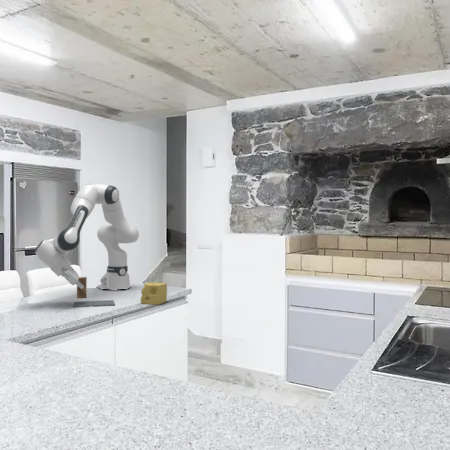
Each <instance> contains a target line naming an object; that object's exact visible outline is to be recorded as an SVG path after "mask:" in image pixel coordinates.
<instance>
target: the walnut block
mask: <svg viewBox="0 0 450 450" xmlns="http://www.w3.org/2000/svg"><path fill="white" fill-rule="evenodd" d="M87 278H88V277H86V276H79V278H78V281H79V282H80V283H81V284H82V285H84V288H82V289H81V288H80V287H78V286H77V285H76V299H87V287H88V285H87Z"/></svg>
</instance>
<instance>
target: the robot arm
mask: <svg viewBox="0 0 450 450" xmlns="http://www.w3.org/2000/svg"><path fill="white" fill-rule="evenodd" d="M96 205H101V209H102V212H103V216H104V220H105V221H106V222H107V223H108V224H107V225H101V226H100V227H99V228H98V229H97V232H96V235H97V238H98V240H99V242H101V243H102V244H103V245H104V247H105V249H106V251H107V257H108V258H107V259H108V260H107V261H108V263H107V264H108V265H107V267H106V272H105V274H104V275H102V277H101V279H100V284H98V285H97V286H96V287H97V288H98V289H100V288H103V289H111V290H110V291H116V290H115V289H126V288H129V287H130V286H131V283H130V280H131V279H130V274H129V273H128V272H129V267H128V253H127V252H126V250H124V249H123V248H121V247H120V245H119V244H131V243H136V242H137V241H138V239H139V236H140V233H139V229H138V228H137V226H134V225H133V224H131V223H130V222H129V221H128V220H127V218H126V217H125V213H124V211H123V208H122V203H121V198H120V192H119V190H118V188H117V187H116V186H114V185H111V184H110V185H107V184H102V183H99V184H98V183H95V184H94V183H93V184H92V183H88V184H87V183H86V184H84V185H83V186H82V187H80V189H79V190H78V192H77V194H76V195H75V196H74V198H73V201H72V203H71V205H70V212H71V214H72V217H71V219H70V222H69V223H68V225H67V227H66V228H65V229H63V230H62V231H61V232H60V233H59V235H57V236H56V237H53V238H50V239H49V238H48V239H43V240H41V241H40V243H39V244H38V245H37V246H36V248H35V250H34V252H35V255H36V256H37V258H38V259H39V260H40V261H41V262H42V263H43V264H44V265H46V266H48V267H49V269H50V271H52V272H53V273H54V274H55V275H56V276H57V277H60V276H61V277H62V278H64V279H65V280H66V281H67V282H68V283H69V284H70V285H71V286H75V285H76V287H77V286H78V287H80V288H81V289H82V288H84V285H82V284H81V283H80V282H79V281H78V278H79V277H80V275H79V274H78V272H77V271H76V270H75V269H74V268H73V266H72V264H73V263H71V262H70V260H68V258H67V257H66V256H65V255H67V254H68V253H70V252H72V250H74V249H77V247H78V246H79V244H80V237H81V236H80V235H81V231H82V228H83V226H84V224H85V222H86V219H88V218H89V216H90V215H91V214H92V212H93V210H94V208H95V206H96ZM112 289H113V290H112ZM129 289H130V288H129Z"/></svg>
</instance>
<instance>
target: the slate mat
mask: <svg viewBox="0 0 450 450" xmlns="http://www.w3.org/2000/svg"><path fill="white" fill-rule="evenodd" d="M72 303H73V304H72V308H88V307H89V306H93V307H109V306H111V307H113V306H116V304H115V300H114V299H108V300H104V299H103V300H81V301H80V300H79V301H76V300H75V301H73V302H72ZM89 308H90V307H89Z"/></svg>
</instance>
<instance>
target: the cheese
mask: <svg viewBox="0 0 450 450" xmlns="http://www.w3.org/2000/svg"><path fill="white" fill-rule="evenodd" d="M167 285H168V284H167V283H166V282H151V281H150V282H146V283H144V285H143V286H144V287H143V288H142V289H141V293H140V294H141V297H140V304H142V305H143V304H144V305H154V306H155V305H156V306H159V305H162V304H164V303H166V302H167V300H168V299H167V296H168V287H167Z"/></svg>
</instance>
